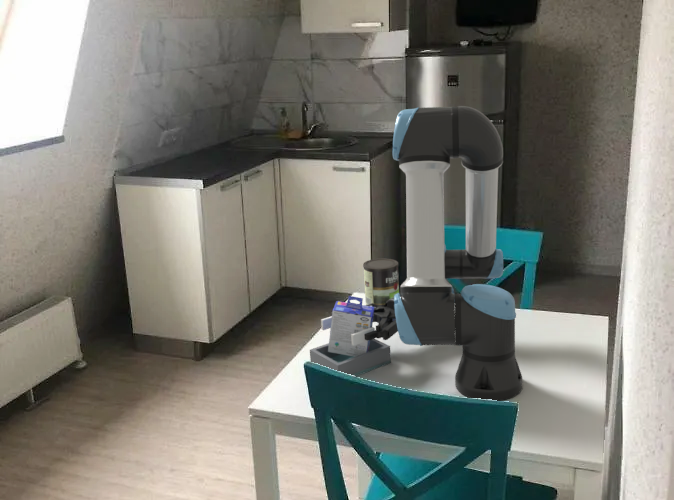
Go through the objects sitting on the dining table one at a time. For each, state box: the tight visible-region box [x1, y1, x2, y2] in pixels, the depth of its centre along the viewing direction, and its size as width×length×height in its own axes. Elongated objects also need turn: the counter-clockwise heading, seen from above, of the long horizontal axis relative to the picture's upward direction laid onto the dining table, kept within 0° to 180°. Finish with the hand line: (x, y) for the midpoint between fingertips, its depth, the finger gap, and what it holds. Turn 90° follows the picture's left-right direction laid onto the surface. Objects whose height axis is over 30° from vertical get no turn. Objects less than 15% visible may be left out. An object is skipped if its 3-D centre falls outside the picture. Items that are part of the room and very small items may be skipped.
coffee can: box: [362, 257, 400, 308], centre depth 218 cm, size 10×10×14 cm
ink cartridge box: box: [328, 295, 374, 357], centre depth 181 cm, size 10×6×14 cm, turn 81°
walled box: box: [309, 338, 392, 377], centre depth 184 cm, size 12×16×4 cm
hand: (336, 332), depth 180 cm, fingers open, 12 cm apart
